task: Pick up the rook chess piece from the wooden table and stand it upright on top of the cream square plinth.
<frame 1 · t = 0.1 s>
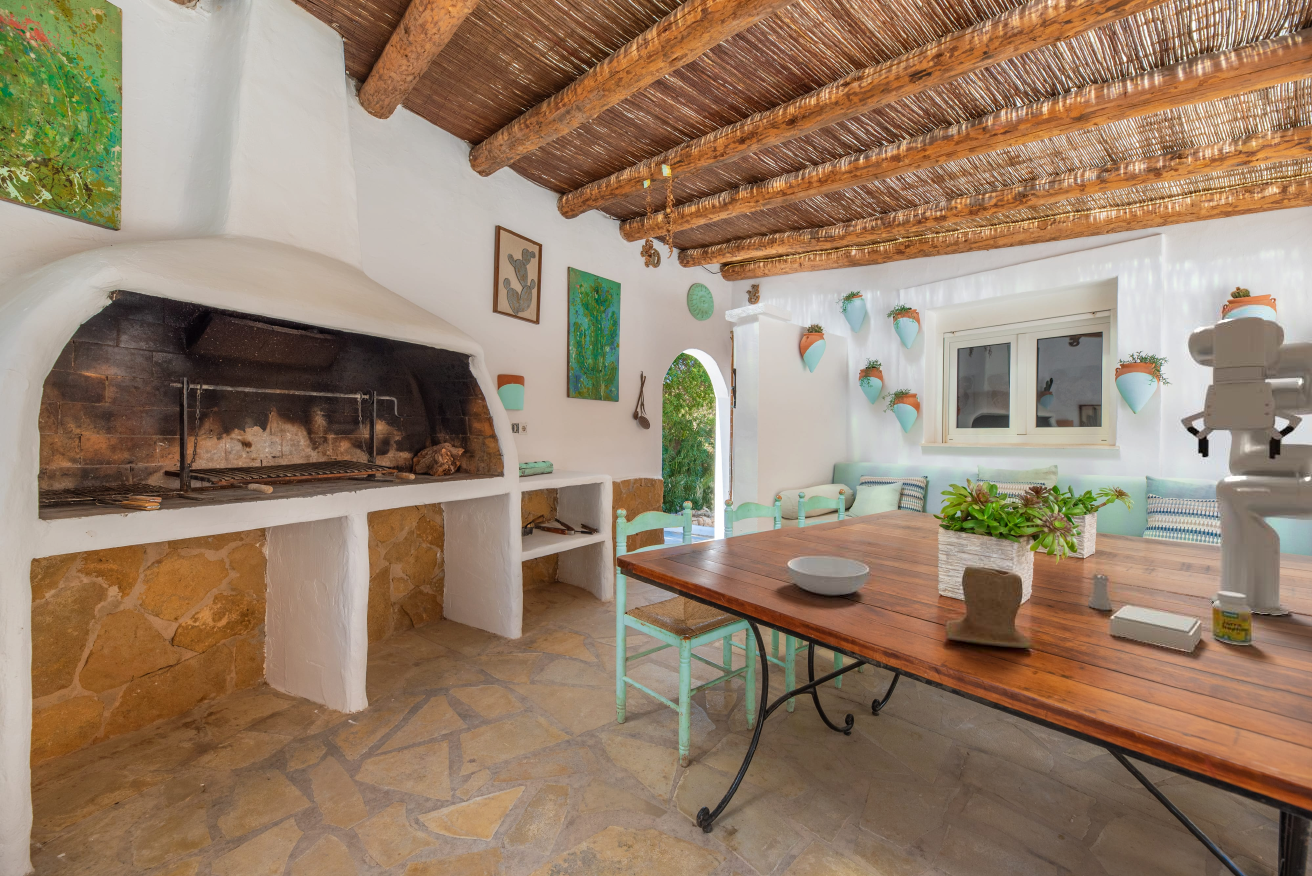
hand: (1237, 457, 113), 37 cm above the table, tool pointing down, fingers open, 9 cm apart
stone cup: (983, 641, 108), on the table
serving bowl: (827, 591, 143), on the table
supplement bottle: (1231, 642, 108), on the table
plinth: (1155, 636, 110), on the table
rook chess piece: (1100, 608, 128), on the table
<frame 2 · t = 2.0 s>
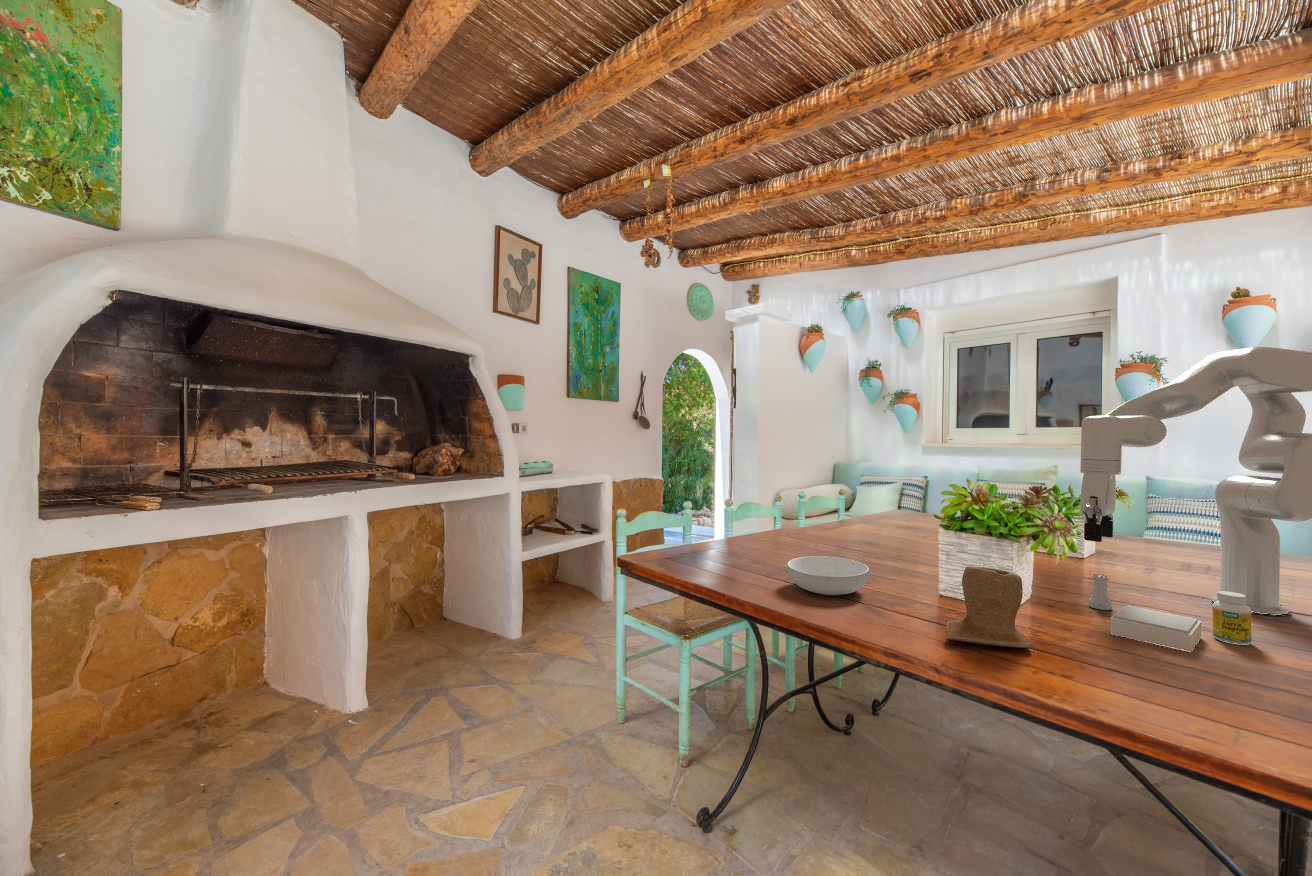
hand: (1098, 538, 128), 17 cm above the table, tool pointing down, fingers open, 9 cm apart
nothing on the table moved.
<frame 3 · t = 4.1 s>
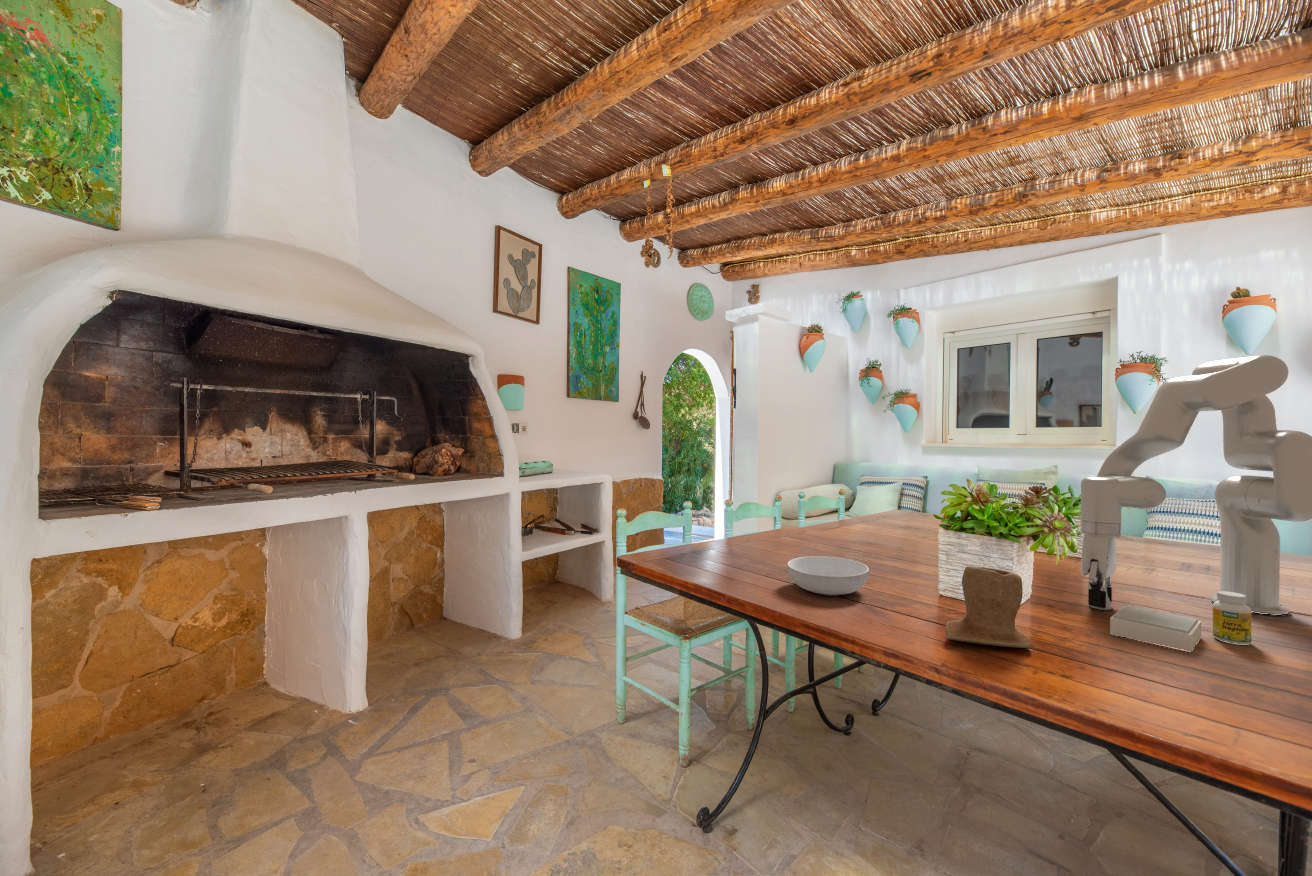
hand: (1100, 603, 128), 1 cm above the table, tool pointing down, fingers closed on rook chess piece, 4 cm apart
rook chess piece: (1100, 608, 128), on the table, touching gripper
everything else where it was.
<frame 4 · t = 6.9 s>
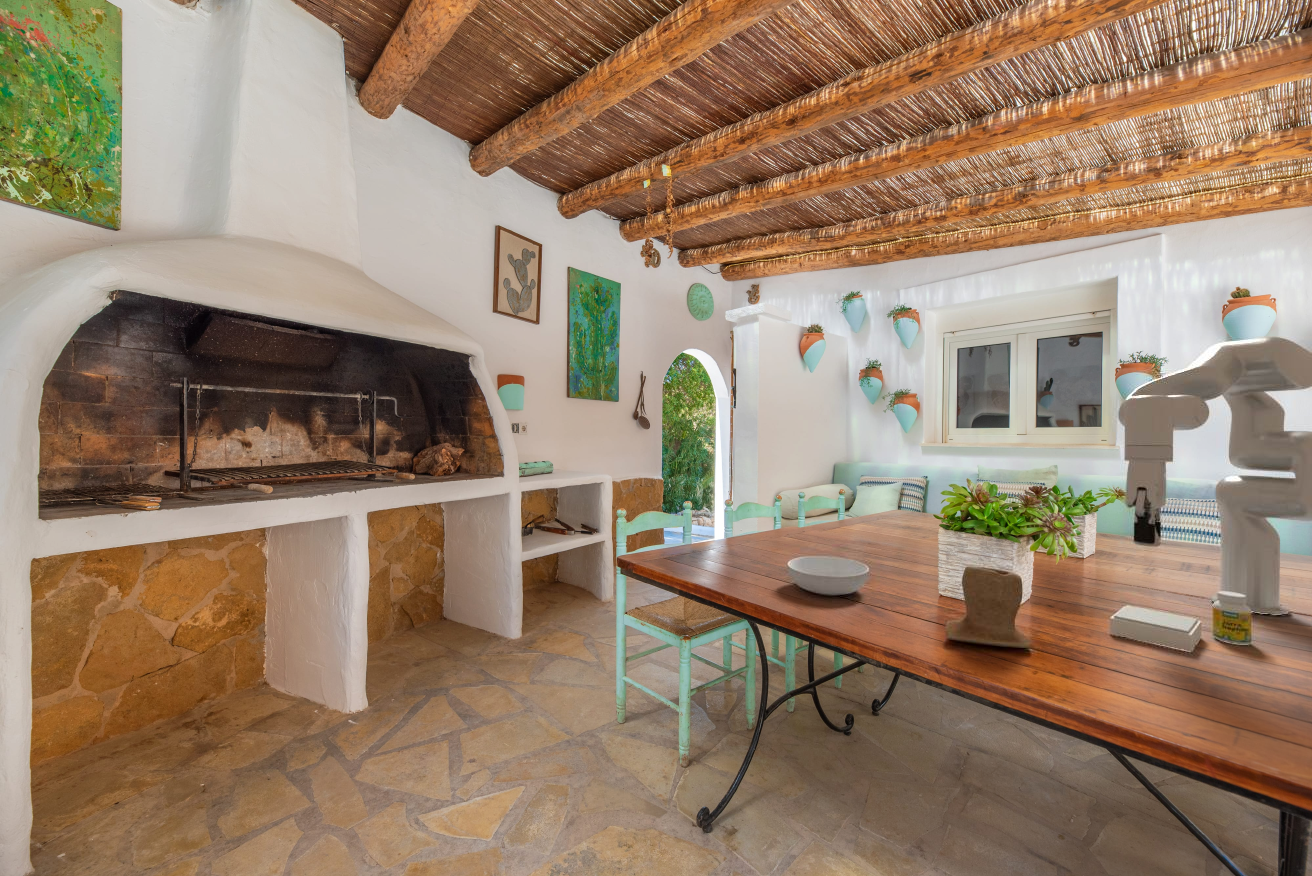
hand: (1147, 540, 112), 19 cm above the table, tool pointing down, fingers closed on rook chess piece, 4 cm apart
rook chess piece: (1146, 545, 112), point 18 cm above the table, touching gripper
everything else where it was.
when the fingers open (6 cm above the table, at t = 9.9 s): rook chess piece drops 1 cm, resting on plinth.
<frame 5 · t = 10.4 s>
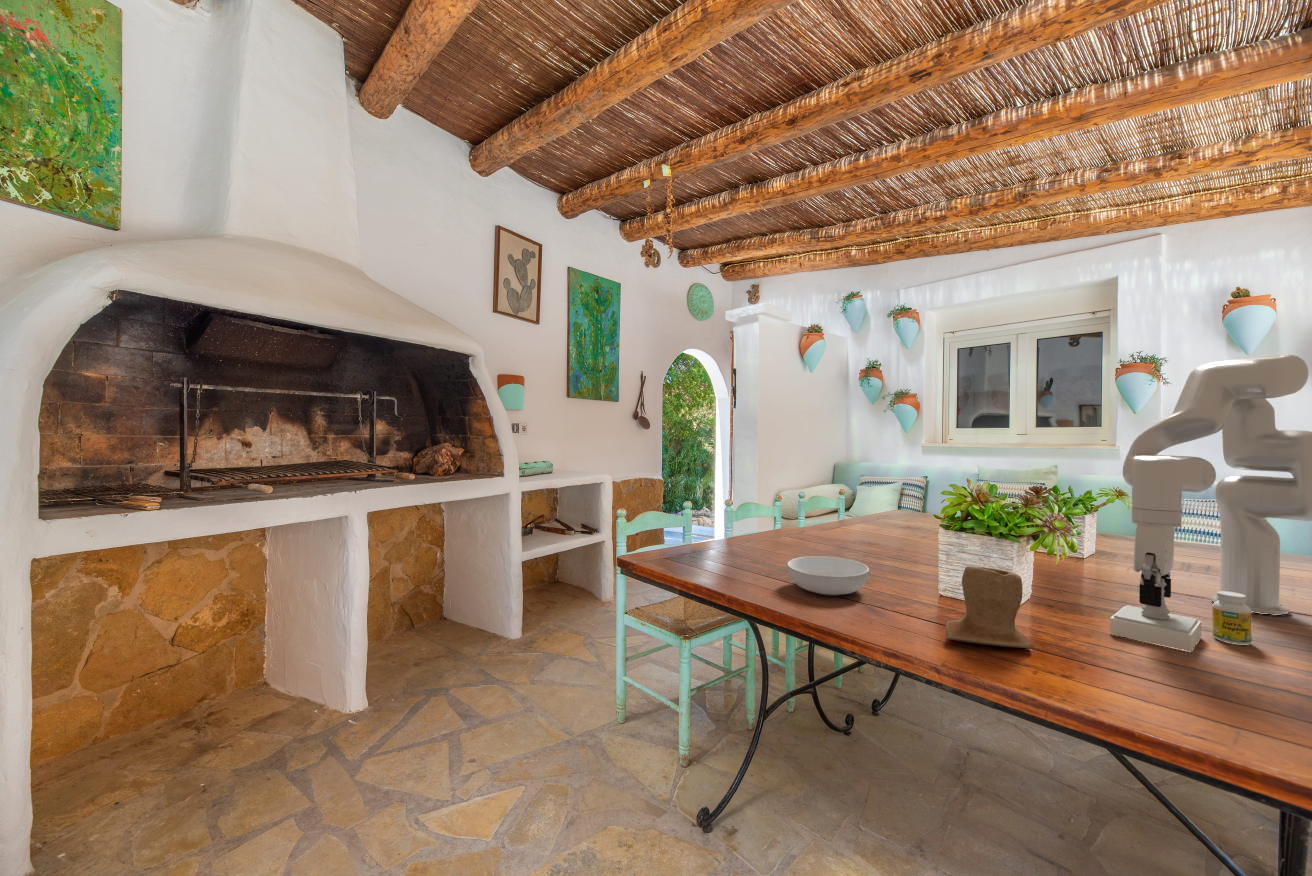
hand: (1155, 600, 110), 7 cm above the table, tool pointing down, fingers open, 9 cm apart
rook chess piece: (1155, 617, 110), point 4 cm above the table, touching plinth
everything else where it was.
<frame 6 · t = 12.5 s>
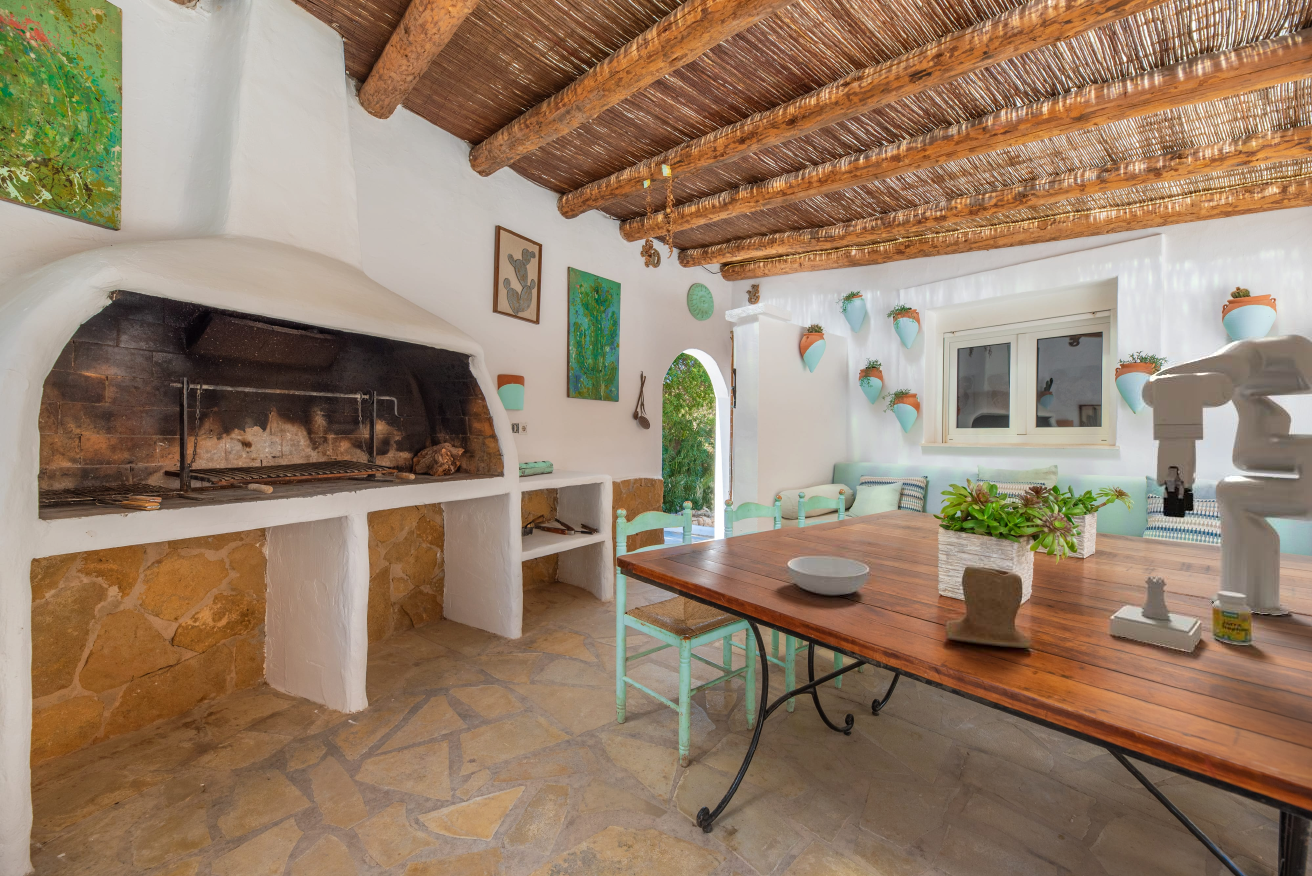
hand: (1178, 513, 113), 25 cm above the table, tool pointing down, fingers open, 9 cm apart
nothing on the table moved.
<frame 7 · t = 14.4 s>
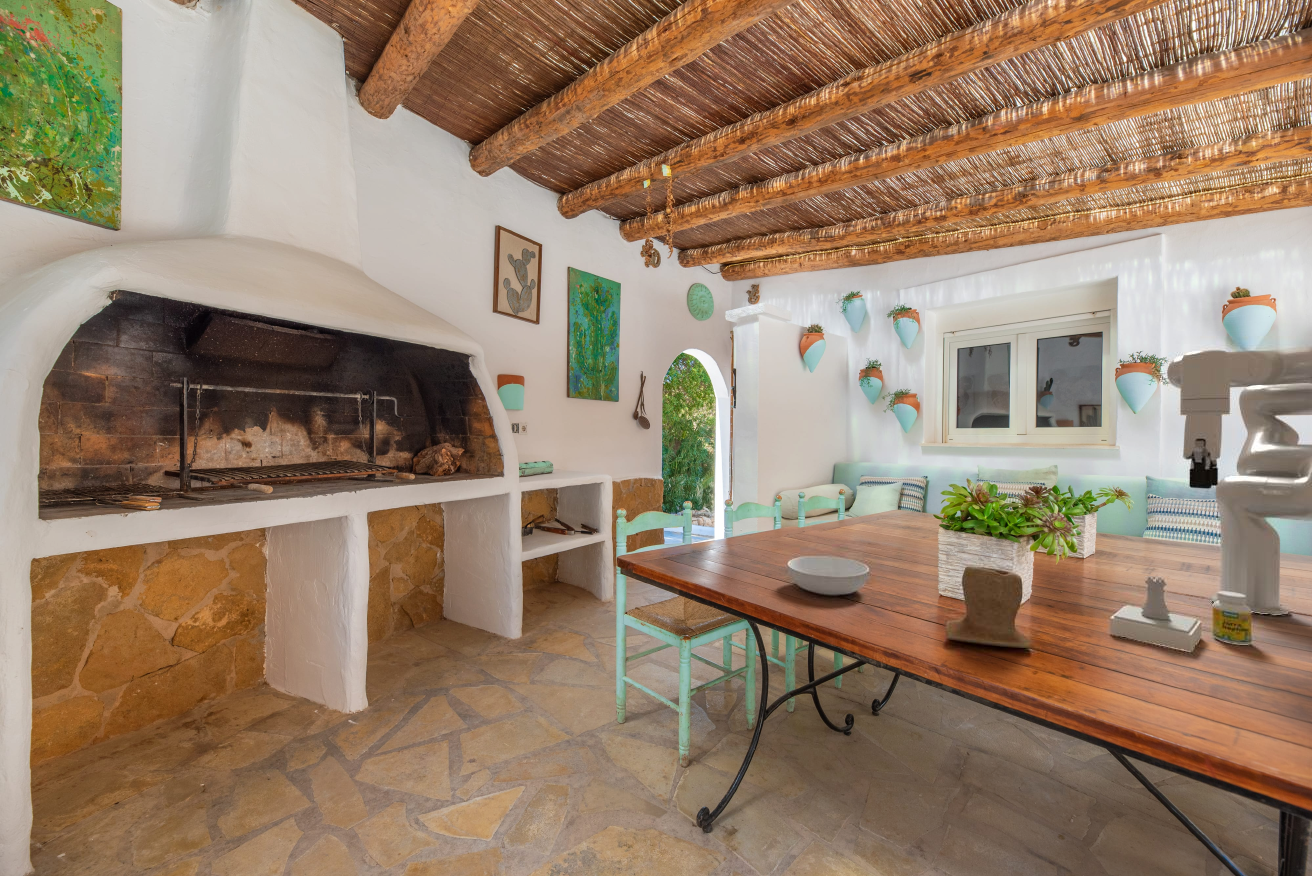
hand: (1203, 486, 116), 30 cm above the table, tool pointing down, fingers open, 9 cm apart
nothing on the table moved.
at the end: rook chess piece inside the target area on the plinth (0.2 cm from its centre), point 3.8 cm above the plinth's base; rook chess piece tilted 0°; the gripper is holding nothing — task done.
